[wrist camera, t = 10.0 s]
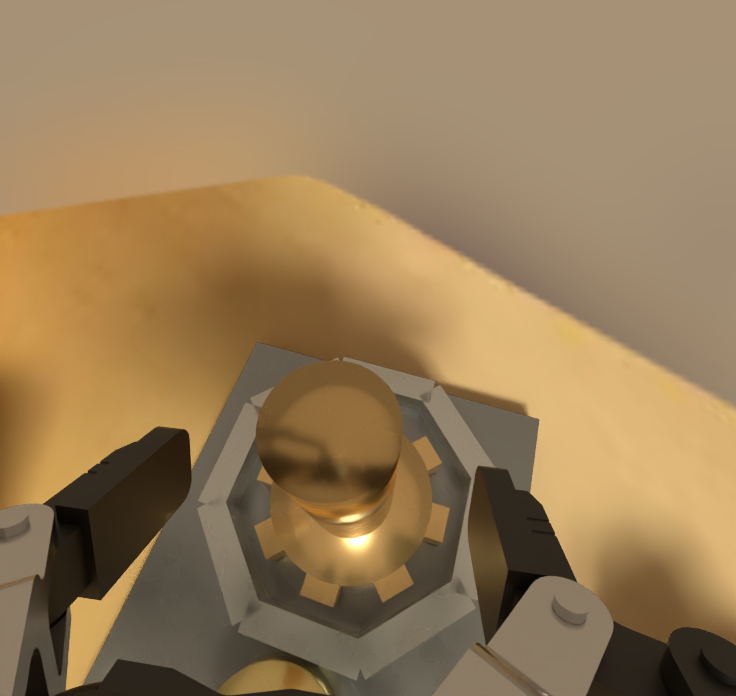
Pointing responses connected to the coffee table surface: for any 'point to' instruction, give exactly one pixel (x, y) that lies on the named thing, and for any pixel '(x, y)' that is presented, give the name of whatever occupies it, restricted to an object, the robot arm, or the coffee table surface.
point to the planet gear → (344, 481)
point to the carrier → (285, 579)
